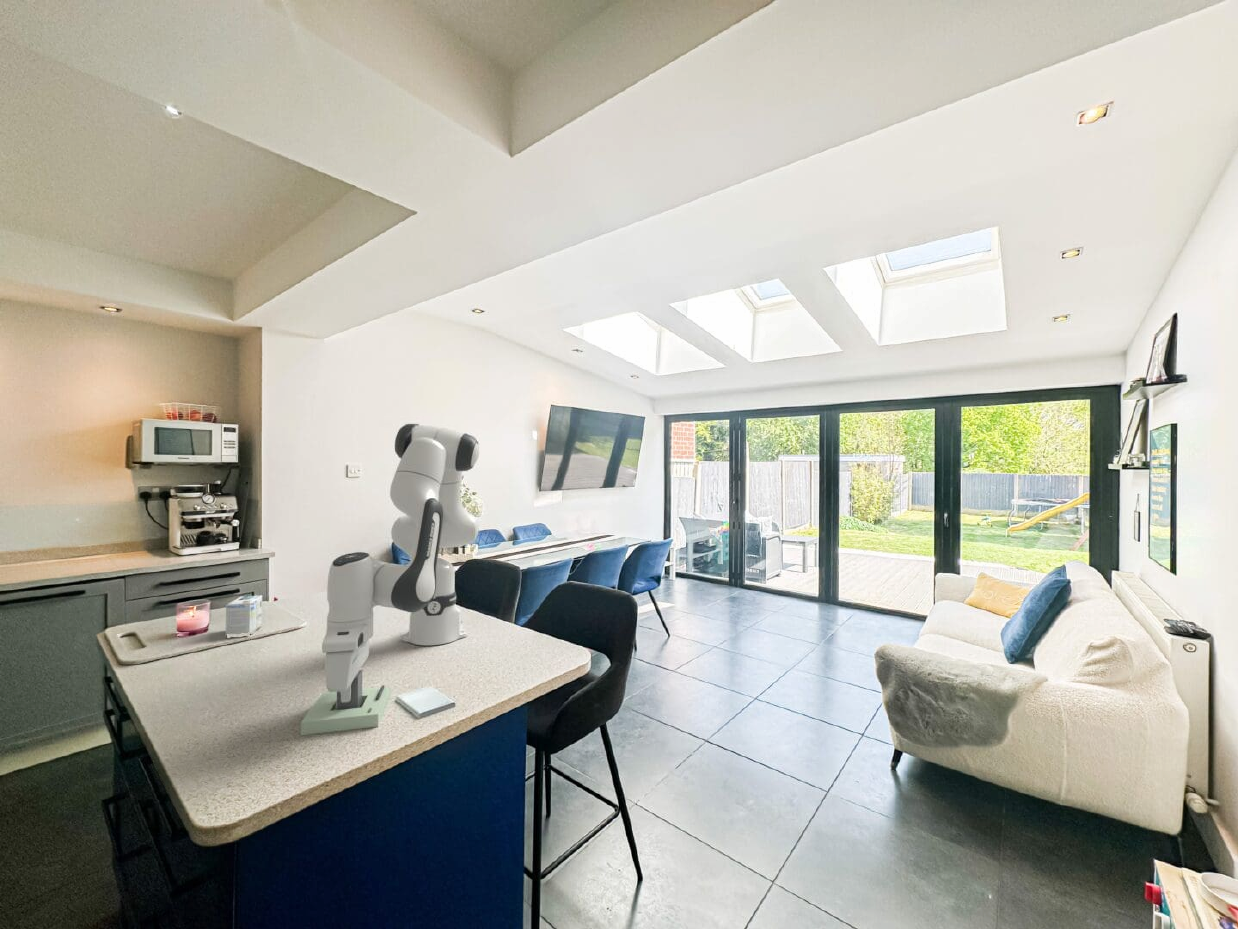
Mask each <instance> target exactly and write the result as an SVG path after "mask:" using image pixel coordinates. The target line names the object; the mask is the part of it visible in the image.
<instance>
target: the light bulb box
mask: <svg viewBox="0 0 1238 929" xmlns="http://www.w3.org/2000/svg"><path fill="white" fill-rule="evenodd" d="M225 606H226V607H225V636H226V635H227V634H241V633H248V632H252V631H253V630H254V629H255V628H256V627H258V626H260V625H261V624H263V620H262V617H263V595H246V596H239V597H237V598H236V599H233V600H232V601H231V602H228V603H227V604H225Z"/></svg>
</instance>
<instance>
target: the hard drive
mask: <svg viewBox="0 0 1238 929" xmlns="http://www.w3.org/2000/svg"><path fill="white" fill-rule="evenodd" d="M395 700H396V702H398V703H399V704H400V705H402V706H403V707H404V708H406V710H408V711H409V713H411V712H412V713H411V714H412V715H414V716H415V717H416V718H417V719H420V718H421V719H422V718H423V719H424V718H425V717H429V716H432V715H436V714H437V713H441V712H444V711H446V710H449V709H452V708H455V707H456V704H457V703H456V701H454V700H452V699H450V698H449V697H448V696H446V695H445V694H443V692H440V691H439V690H437V689H436V688H435V687H432V686H431V685H428V686H424V687H422V688H418V689H414V690H411V691H408V692H405V693H401V694H399V695H396V697H395Z"/></svg>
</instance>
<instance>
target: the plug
mask: <svg viewBox="0 0 1238 929" xmlns="http://www.w3.org/2000/svg"><path fill="white" fill-rule="evenodd" d="M362 689H363V669H360V670H359V672H358V674H357V675H356V677H355V678H354V680H353V681H352V684H351V690H352V698H351V700H350V701H349V702H341V694H340V691H339V692H337V710H343V709H352V708H359V707H360V705H361V704H362Z"/></svg>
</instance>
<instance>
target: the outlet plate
mask: <svg viewBox="0 0 1238 929" xmlns="http://www.w3.org/2000/svg"><path fill="white" fill-rule="evenodd" d="M391 688H392V686H391V685H388V686H385V685H381V686H380V687H379V686H378V687H377V686H376V687H369V688H362V704H361V705H360V707H359V708H352V709H343V710H337V692H329V691H325V692H322V694H321V695H320V696H319V697H318V699H317V700H316V701H315V703H314V704H313V705H312V707H311V708H310V710H309V711H308V712H307V714H306V715H304V718H303V719H302V720H301V721H300V736H305V735H315V734H323V733H331V732H332V733H333V732H341V731H349V730H351V731H352V730H357V729H358V730H359V729H367V728H377V727H379V726H380V723H381V721H382V719H383V716H384V714H385V711H386V709H387V707H388V704H389V702H390V700H391V697H392V696H391V695H392V690H391Z"/></svg>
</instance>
